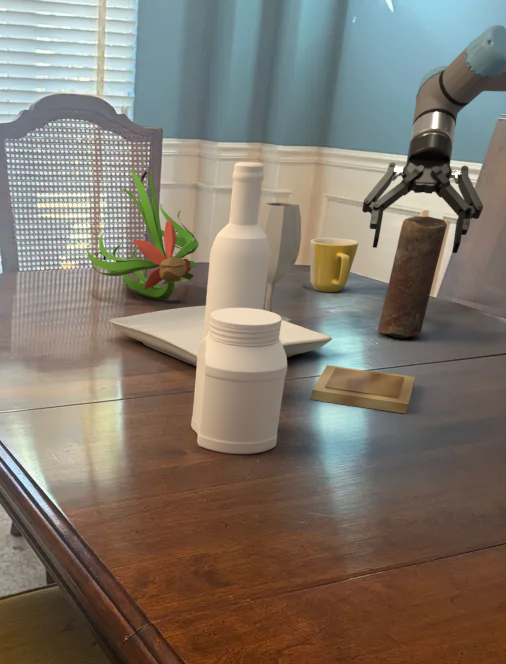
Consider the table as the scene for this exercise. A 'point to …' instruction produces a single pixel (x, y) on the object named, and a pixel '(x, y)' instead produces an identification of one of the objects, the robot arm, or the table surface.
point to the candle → (412, 276)
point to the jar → (239, 382)
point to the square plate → (201, 333)
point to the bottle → (239, 249)
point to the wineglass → (280, 242)
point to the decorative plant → (152, 250)
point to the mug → (331, 263)
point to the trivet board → (364, 389)
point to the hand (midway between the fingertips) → (415, 245)
